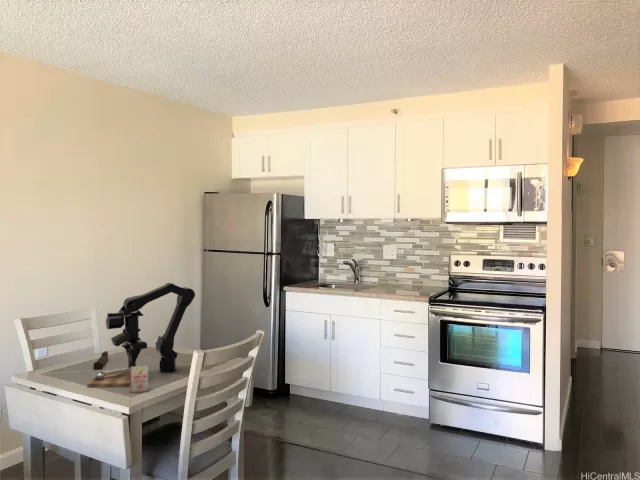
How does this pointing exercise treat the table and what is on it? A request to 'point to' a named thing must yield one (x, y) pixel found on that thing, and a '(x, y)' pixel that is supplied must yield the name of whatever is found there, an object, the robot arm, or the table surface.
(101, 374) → the lever
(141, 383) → the white red carton
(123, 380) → the lever board
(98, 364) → the hand tool
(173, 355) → the robot arm
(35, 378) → the table surface
